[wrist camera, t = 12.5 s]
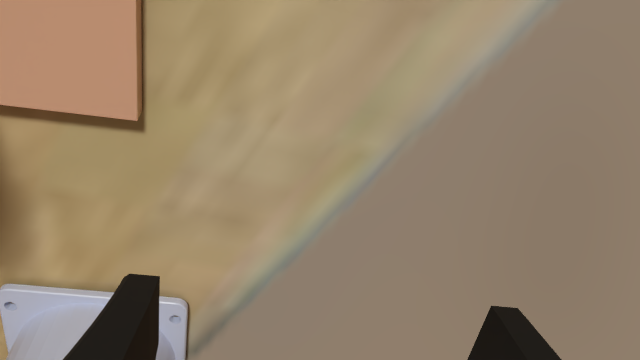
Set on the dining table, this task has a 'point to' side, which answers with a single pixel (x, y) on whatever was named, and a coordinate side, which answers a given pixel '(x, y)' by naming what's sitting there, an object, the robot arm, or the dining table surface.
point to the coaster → (72, 56)
